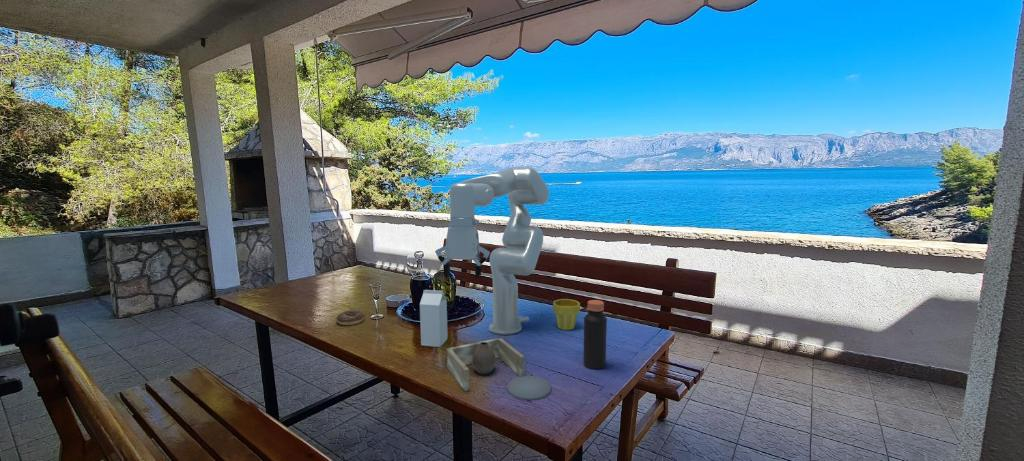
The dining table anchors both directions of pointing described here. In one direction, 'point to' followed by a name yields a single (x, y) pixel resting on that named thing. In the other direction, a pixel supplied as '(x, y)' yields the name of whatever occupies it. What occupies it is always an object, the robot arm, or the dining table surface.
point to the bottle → (595, 335)
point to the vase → (484, 358)
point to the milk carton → (433, 318)
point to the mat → (529, 387)
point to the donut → (350, 317)
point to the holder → (464, 356)
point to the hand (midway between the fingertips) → (462, 277)
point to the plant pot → (566, 313)
